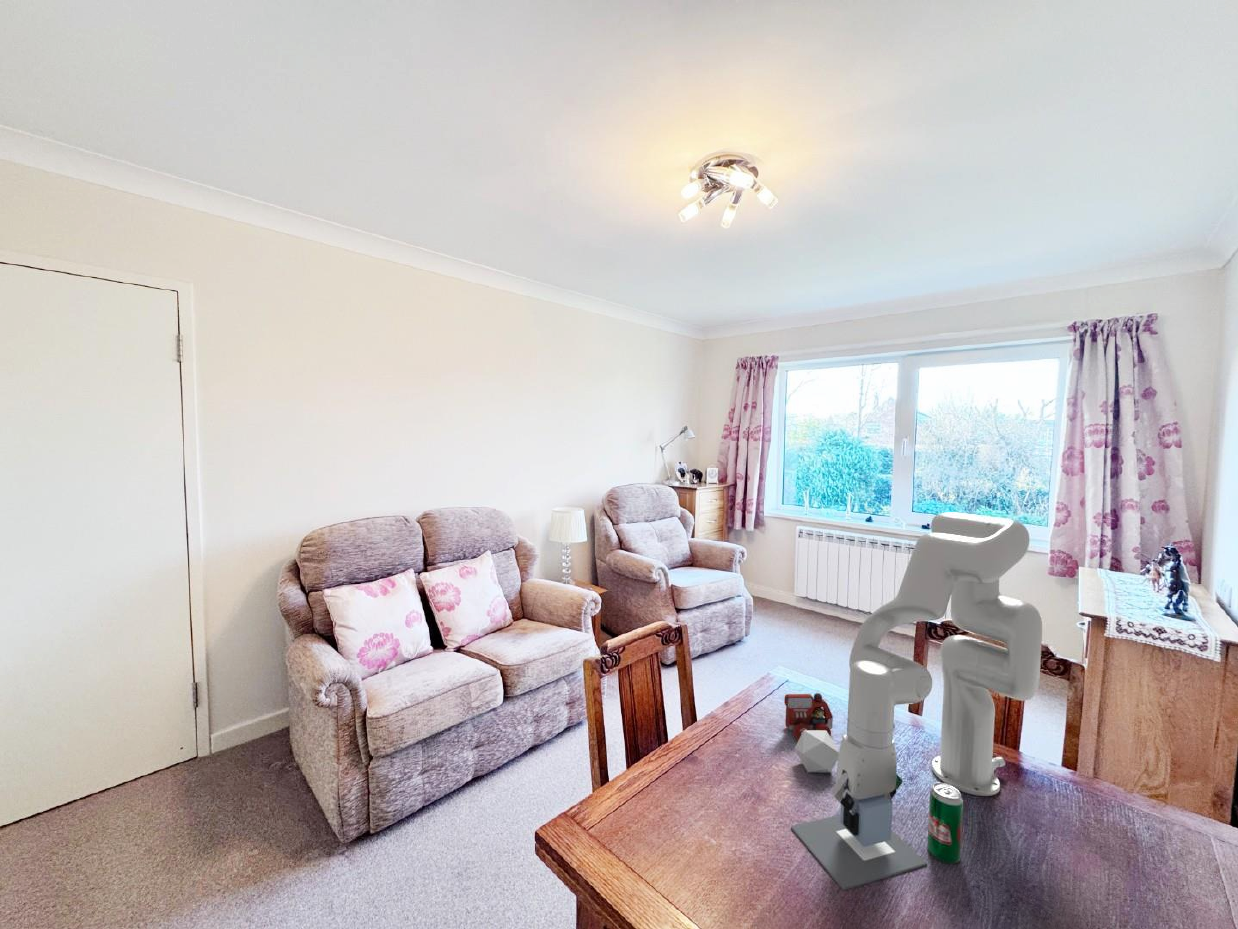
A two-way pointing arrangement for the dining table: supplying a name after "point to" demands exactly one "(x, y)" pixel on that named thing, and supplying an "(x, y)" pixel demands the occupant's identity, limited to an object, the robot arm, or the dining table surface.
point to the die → (817, 751)
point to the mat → (855, 853)
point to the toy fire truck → (807, 713)
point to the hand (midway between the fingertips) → (865, 825)
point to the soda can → (945, 823)
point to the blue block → (873, 820)
